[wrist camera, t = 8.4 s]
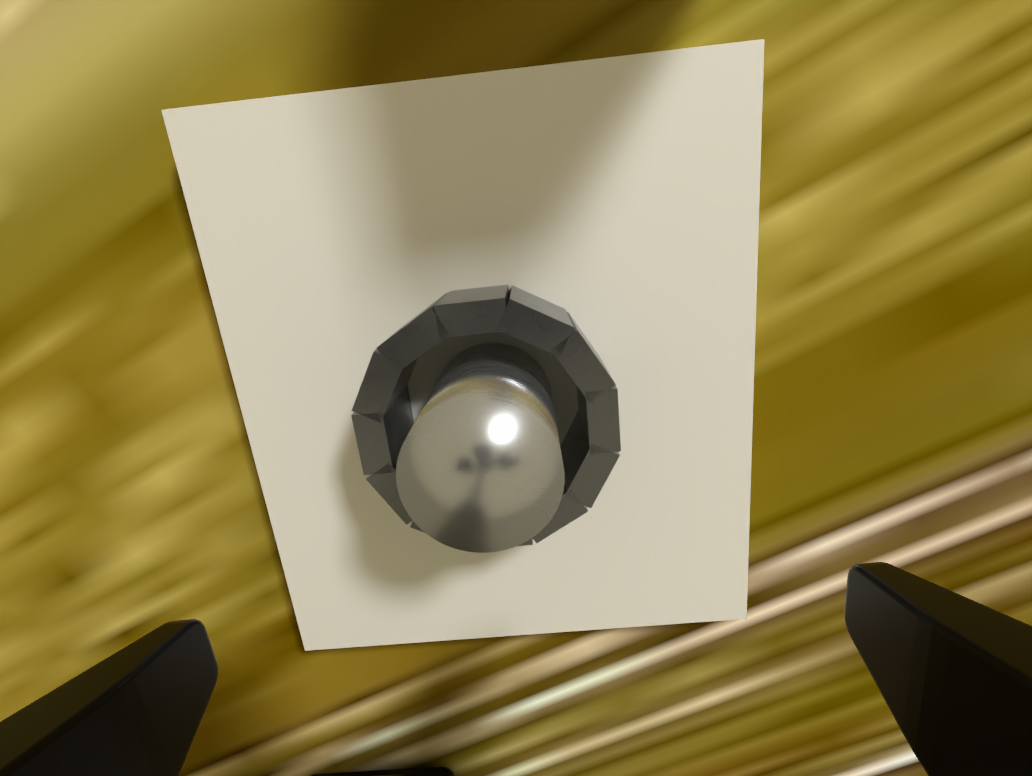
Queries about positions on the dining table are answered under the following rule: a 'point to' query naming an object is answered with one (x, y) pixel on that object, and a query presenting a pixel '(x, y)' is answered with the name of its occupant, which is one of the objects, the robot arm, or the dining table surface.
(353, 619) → the base plate
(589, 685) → the dining table surface
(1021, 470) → the dining table surface
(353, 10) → the dining table surface
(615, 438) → the gunmetal ring
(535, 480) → the steel pin
